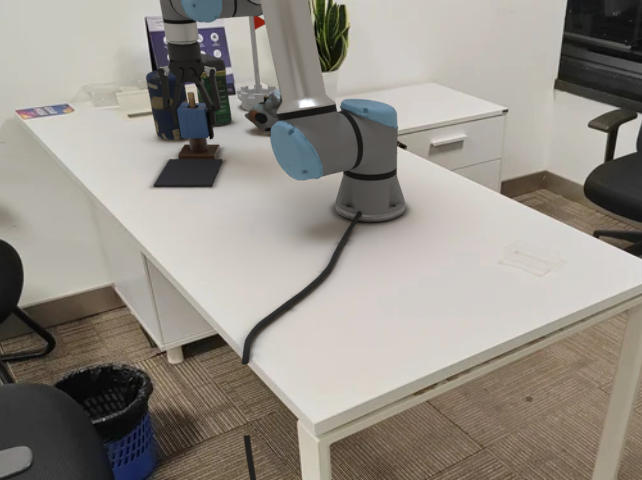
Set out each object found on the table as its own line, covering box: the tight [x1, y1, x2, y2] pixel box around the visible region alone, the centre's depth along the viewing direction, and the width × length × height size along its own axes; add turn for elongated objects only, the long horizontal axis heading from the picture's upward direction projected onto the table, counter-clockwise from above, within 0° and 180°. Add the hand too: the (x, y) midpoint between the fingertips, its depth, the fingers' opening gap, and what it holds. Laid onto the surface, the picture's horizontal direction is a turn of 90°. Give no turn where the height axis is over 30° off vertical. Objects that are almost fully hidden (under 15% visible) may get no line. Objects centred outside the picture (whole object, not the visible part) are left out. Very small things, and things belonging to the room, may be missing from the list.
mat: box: [153, 158, 223, 188], centre depth 167 cm, size 18×13×1 cm
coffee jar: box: [196, 53, 233, 126], centre depth 198 cm, size 10×8×19 cm
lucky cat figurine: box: [244, 90, 282, 133], centre depth 196 cm, size 15×12×14 cm
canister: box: [145, 69, 189, 141], centre depth 185 cm, size 10×10×18 cm
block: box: [177, 102, 209, 139], centre depth 174 cm, size 6×6×7 cm
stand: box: [177, 91, 221, 159], centre depth 175 cm, size 9×9×16 cm
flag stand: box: [236, 16, 279, 112], centre depth 210 cm, size 13×13×30 cm
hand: (197, 137), depth 176 cm, fingers closed on block, 6 cm apart
